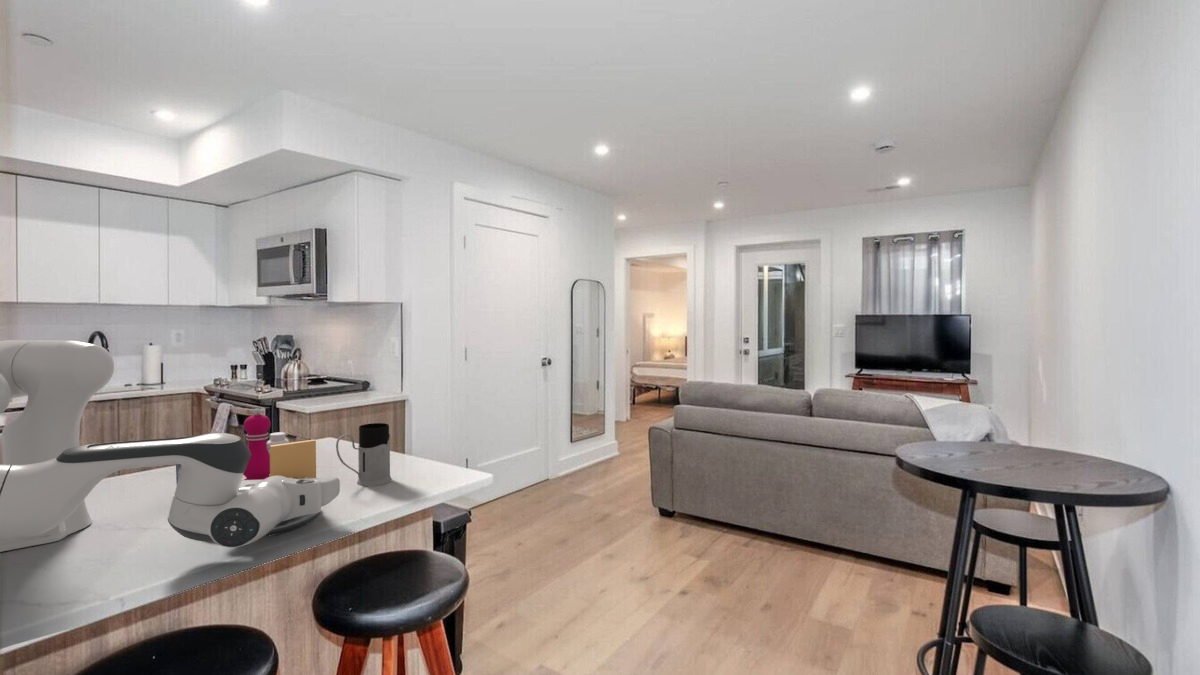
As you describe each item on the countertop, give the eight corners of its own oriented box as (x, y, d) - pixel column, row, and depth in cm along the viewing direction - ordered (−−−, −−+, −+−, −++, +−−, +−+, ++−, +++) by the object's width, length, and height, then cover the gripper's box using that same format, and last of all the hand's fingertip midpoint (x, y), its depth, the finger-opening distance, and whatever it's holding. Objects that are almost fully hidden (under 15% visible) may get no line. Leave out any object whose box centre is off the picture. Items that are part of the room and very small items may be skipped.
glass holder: (397, 481, 151) (397, 425, 150) (343, 493, 140) (343, 433, 140) (382, 474, 157) (382, 421, 156) (330, 485, 146) (329, 428, 146)
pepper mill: (263, 489, 143) (262, 411, 142) (235, 488, 143) (233, 410, 142) (280, 480, 150) (279, 406, 149) (253, 480, 150) (252, 406, 149)
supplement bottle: (293, 466, 164) (293, 431, 164) (280, 471, 158) (280, 435, 158) (275, 465, 164) (275, 431, 164) (262, 471, 159) (261, 435, 159)
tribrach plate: (221, 550, 106) (221, 529, 106) (179, 522, 120) (179, 503, 120) (339, 516, 124) (339, 498, 124) (291, 495, 138) (291, 479, 138)
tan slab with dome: (246, 517, 117) (245, 453, 116) (238, 508, 122) (237, 447, 121) (320, 501, 127) (319, 442, 126) (310, 494, 132) (310, 437, 131)
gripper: (216, 517, 110) (250, 496, 124) (326, 513, 113) (347, 492, 127) (216, 485, 110) (250, 467, 124) (326, 482, 113) (347, 464, 127)
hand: (300, 480), depth 125 cm, fingers closed
